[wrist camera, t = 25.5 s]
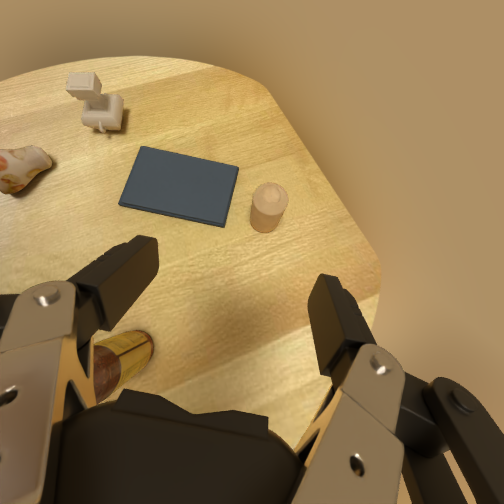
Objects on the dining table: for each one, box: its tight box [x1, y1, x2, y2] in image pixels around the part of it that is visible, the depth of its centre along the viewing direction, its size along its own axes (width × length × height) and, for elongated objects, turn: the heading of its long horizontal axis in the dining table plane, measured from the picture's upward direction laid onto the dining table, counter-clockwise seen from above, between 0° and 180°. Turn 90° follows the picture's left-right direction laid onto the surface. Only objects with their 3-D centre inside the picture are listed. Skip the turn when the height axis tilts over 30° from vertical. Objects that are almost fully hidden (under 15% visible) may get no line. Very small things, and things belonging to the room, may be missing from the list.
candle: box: [250, 183, 288, 233], centre depth 35 cm, size 6×6×10 cm
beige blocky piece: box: [66, 72, 124, 133], centre depth 38 cm, size 9×7×8 cm
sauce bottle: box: [93, 330, 153, 405], centre depth 23 cm, size 6×6×20 cm
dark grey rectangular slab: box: [118, 146, 239, 228], centre depth 39 cm, size 20×13×1 cm, turn 79°
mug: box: [0, 145, 52, 194], centre depth 35 cm, size 8×10×10 cm
